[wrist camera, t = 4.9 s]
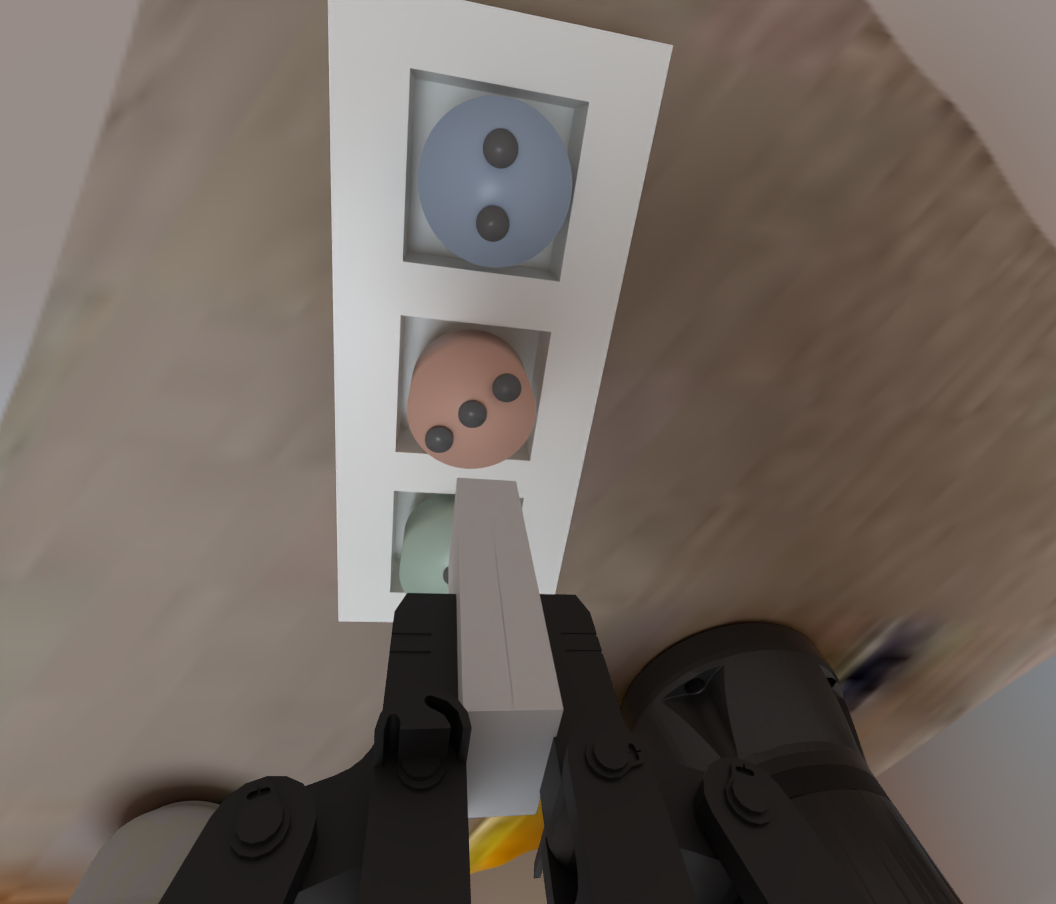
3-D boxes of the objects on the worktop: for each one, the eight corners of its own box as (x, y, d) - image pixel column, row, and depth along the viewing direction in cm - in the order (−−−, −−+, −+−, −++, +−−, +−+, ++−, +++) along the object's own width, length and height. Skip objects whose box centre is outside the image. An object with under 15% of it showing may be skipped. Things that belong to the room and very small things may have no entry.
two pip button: (566, 118, 20) (586, 110, 17) (545, 262, 22) (559, 277, 19) (426, 92, 19) (421, 80, 16) (418, 245, 21) (413, 258, 18)
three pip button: (534, 335, 23) (545, 359, 20) (518, 440, 25) (527, 475, 23) (414, 322, 22) (409, 345, 19) (409, 432, 25) (403, 467, 22)
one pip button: (510, 494, 27) (517, 533, 24) (498, 574, 29) (503, 618, 26) (406, 489, 26) (401, 528, 23) (402, 571, 28) (396, 617, 25)
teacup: (108, 862, 40) (34, 1013, 33) (112, 770, 35) (28, 922, 28) (307, 870, 43) (280, 1007, 36) (333, 788, 39) (307, 925, 32)
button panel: (644, 60, 21) (673, 45, 18) (540, 586, 32) (548, 624, 30) (344, -3, 19) (327, -30, 16) (348, 581, 30) (338, 621, 28)
